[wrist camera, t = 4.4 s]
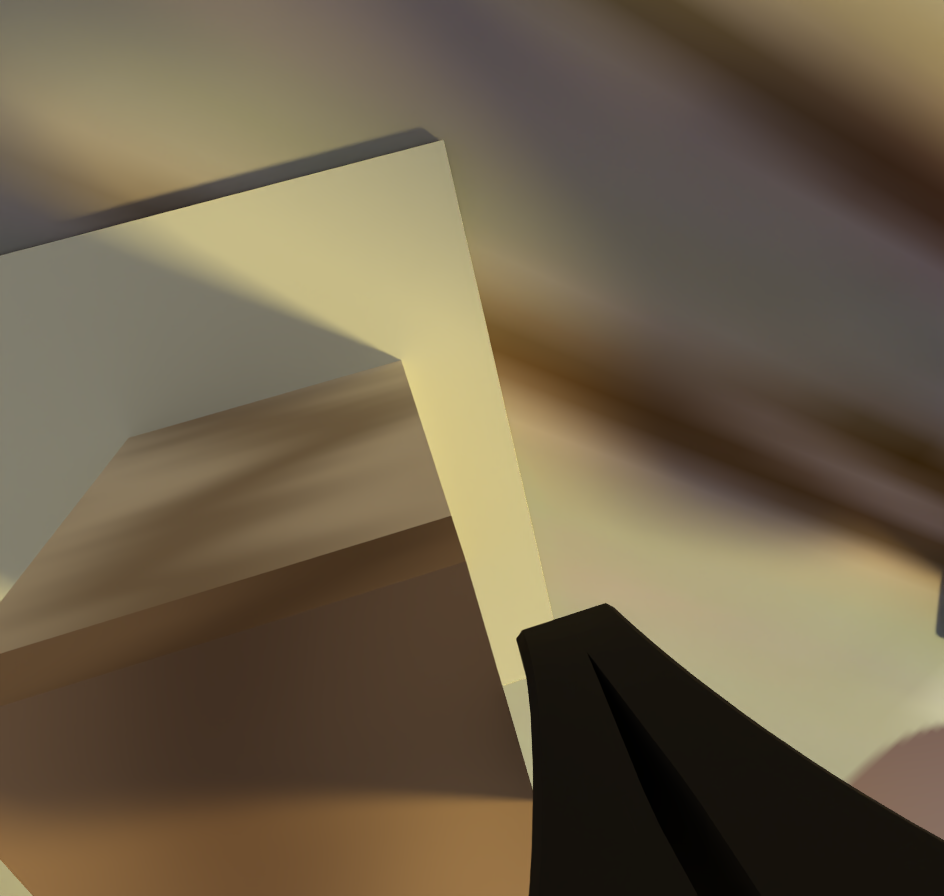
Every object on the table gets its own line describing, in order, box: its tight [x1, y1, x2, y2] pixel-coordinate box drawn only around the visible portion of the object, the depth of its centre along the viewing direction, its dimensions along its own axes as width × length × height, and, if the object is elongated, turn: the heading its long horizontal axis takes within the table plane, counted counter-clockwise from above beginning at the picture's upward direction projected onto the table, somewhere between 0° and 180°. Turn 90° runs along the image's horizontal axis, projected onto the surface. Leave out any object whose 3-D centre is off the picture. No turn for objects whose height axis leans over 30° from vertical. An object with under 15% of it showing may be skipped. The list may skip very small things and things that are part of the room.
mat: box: [0, 140, 554, 686], centre depth 15 cm, size 18×14×1 cm
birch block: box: [0, 360, 533, 896], centre depth 12 cm, size 6×6×8 cm
